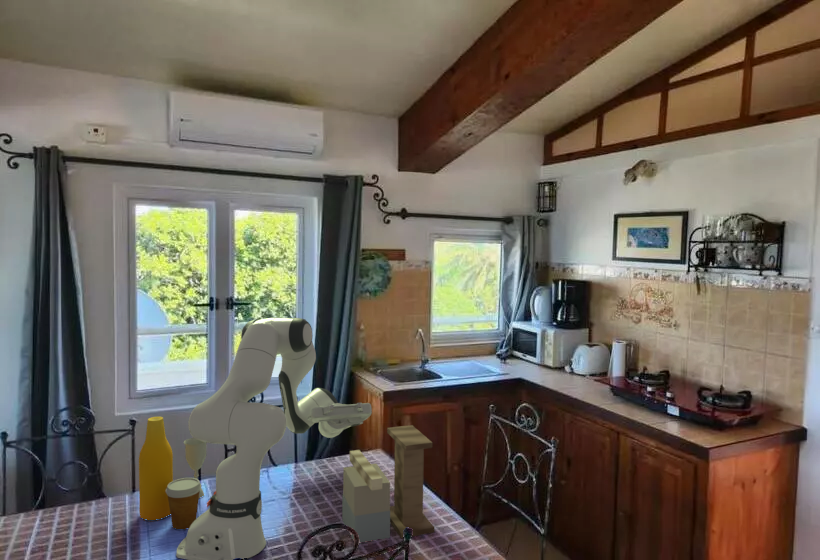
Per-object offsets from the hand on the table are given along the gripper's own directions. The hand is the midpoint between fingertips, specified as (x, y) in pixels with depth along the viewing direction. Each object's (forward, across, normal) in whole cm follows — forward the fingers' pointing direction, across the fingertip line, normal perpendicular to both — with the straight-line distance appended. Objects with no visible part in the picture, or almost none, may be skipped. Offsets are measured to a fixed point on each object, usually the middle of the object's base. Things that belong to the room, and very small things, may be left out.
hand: (345, 406), depth 178 cm
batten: (+13, 0, +23) cm, 27 cm away
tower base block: (+5, 0, +37) cm, 38 cm away
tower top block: (+10, 0, +30) cm, 32 cm away
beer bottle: (-19, -56, +23) cm, 64 cm away
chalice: (-27, -45, +18) cm, 56 cm away
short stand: (+6, +13, +37) cm, 40 cm away
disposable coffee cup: (-11, -48, +28) cm, 57 cm away
